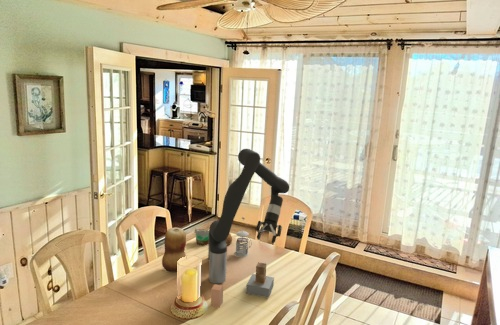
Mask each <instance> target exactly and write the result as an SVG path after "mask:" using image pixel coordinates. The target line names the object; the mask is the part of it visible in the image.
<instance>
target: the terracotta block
mask: <svg viewBox="0 0 500 325" xmlns="http://www.w3.org/2000/svg"><path fill="white" fill-rule="evenodd" d="M223 301H224V285H222V284H216V283H213V285H212V287H211V288H210V307H215V308H221V306H222V304H223V303H224V302H223Z"/></svg>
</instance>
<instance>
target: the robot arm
mask: <svg viewBox="0 0 500 325" xmlns="http://www.w3.org/2000/svg"><path fill="white" fill-rule="evenodd" d="M237 160H238V161H239V163H240V164H241V165H242V166H243V168H242V170H241V173H240V174H239V176H238V177H237V178H236V179H235V180H233V182H232V183H230V185H228V188H227V190H226V193H225V195H224V199H223V203H222V209H221V214H220V217H219V219H218V220H214V221H213V222H212V223H210V226H209V230H208V231H209V244H208V246H209V245H210V260H209V269H208V270H209V271H208V277H209V278H208V281H209V282H210V283H212V284H216V285H220V284H223V283H225V282H226V280H227V256H228V244H226V238H227V237H228V235H229V233H230V234H231V230H232V225H233V222H234V220H235V217H236V216H237V213H238V210H239V208H240V205H241V204H242V201H243V199H244V197H245V194H246V191H247V190H248V187H249V185H250V183H251V180H252V179H253V176H254V174H256V175H257V176H258V177H260V179H261V180H262V181H264V182H265V183H266V184H267V185H269V186H270V200H269V204H268V206H267V209H266V212H265V217H264V220H263V221H262V220H258V221H257V224H256V227H255V231H256V232H257V235H256V239H257V240H258V241H260V240H261V236H262V234H263V232H265V231H266V232H271V233H272V234H273V235H272V239H271V243H272V244H275V243H276V240H277V237H281V234H282V233H281V232H282V230H283V226H282V225H281V224H278V221H279V218H280V215H281V212H282V211H281V209H282V205H283V202H284V199H283V197H282V196H280V195H279V194H286V193H288V192H289V191H290V184H289V183H288V182H287V181H286V180H285V179H284V178H282V177H279V176H278V174H277V175H276V173H274V171H272V169H269V167H267V166H266V165H265V164H263V163H261V154H259V153H258V152H257V151H254V150H252V149H250V148H242V149H241V150H240V151H239V153H238V155H237ZM276 229H277V231H276Z"/></svg>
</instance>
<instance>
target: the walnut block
mask: <svg viewBox="0 0 500 325" xmlns="http://www.w3.org/2000/svg"><path fill="white" fill-rule="evenodd" d="M255 274H256V280H255V282H258V283H263V284H264V282H265V280H266V276H267V263H266V262H265V263H264V262H257V264H256V266H255Z"/></svg>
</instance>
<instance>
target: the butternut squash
mask: <svg viewBox="0 0 500 325" xmlns="http://www.w3.org/2000/svg"><path fill="white" fill-rule="evenodd" d="M186 243H187V232H186V231H185V230H184V229H182V228H181V227H171V228H169V229H168V230H166V233H165V235H164V253H163V256H162V258H161V264H162V268H163V269H164V270H165V271H166V272H168V273H169V272H172V273H174V272H176V273H177V272H178V271H177V261H178V260H179V259H180V258H182V257H185V256H186V257H187V255H186V252H185V248H186V245H187V244H186Z"/></svg>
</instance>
